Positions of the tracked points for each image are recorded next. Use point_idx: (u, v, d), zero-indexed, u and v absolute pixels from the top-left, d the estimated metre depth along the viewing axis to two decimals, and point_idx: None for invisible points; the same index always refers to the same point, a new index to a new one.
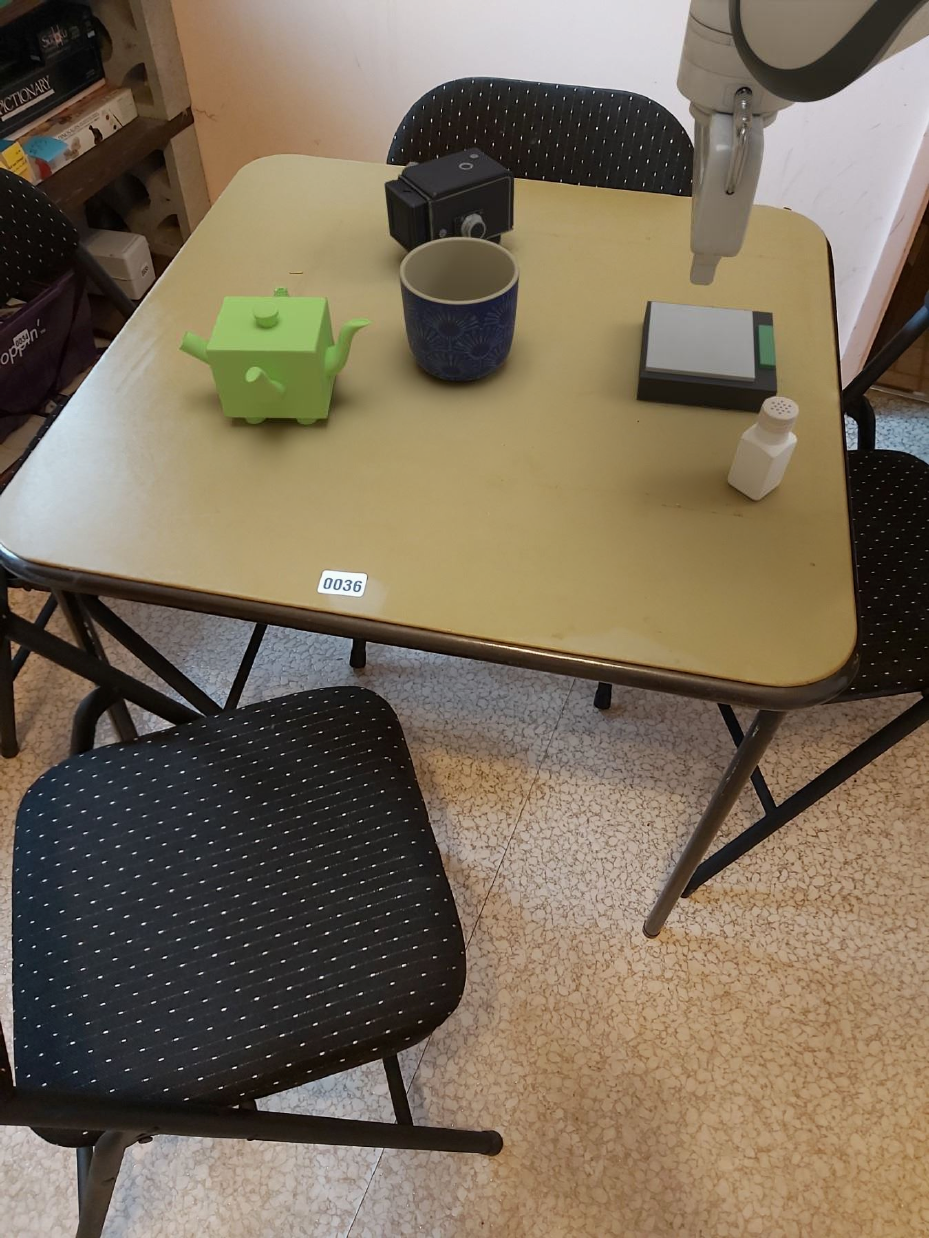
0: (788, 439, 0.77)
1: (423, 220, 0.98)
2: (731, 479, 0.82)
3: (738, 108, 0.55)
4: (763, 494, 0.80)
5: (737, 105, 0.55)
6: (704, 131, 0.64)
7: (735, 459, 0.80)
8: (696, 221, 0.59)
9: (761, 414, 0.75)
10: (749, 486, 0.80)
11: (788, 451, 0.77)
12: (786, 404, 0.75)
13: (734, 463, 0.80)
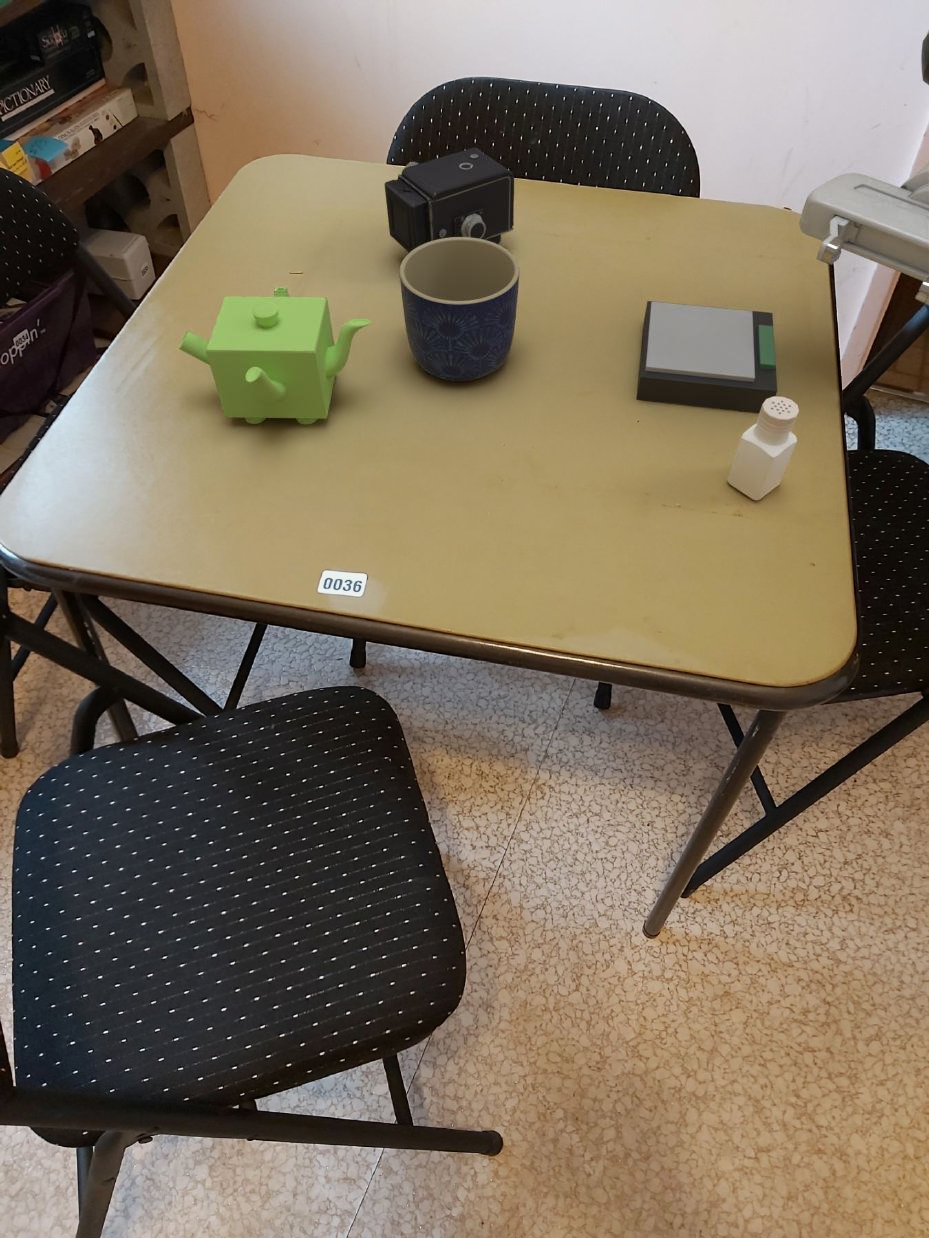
0: (788, 439, 0.77)
1: (423, 220, 0.98)
2: (731, 479, 0.82)
3: None
4: (763, 494, 0.80)
5: None
6: None
7: (735, 459, 0.80)
8: None
9: (761, 414, 0.75)
10: (749, 486, 0.80)
11: (788, 451, 0.77)
12: (786, 405, 0.75)
13: (734, 463, 0.80)
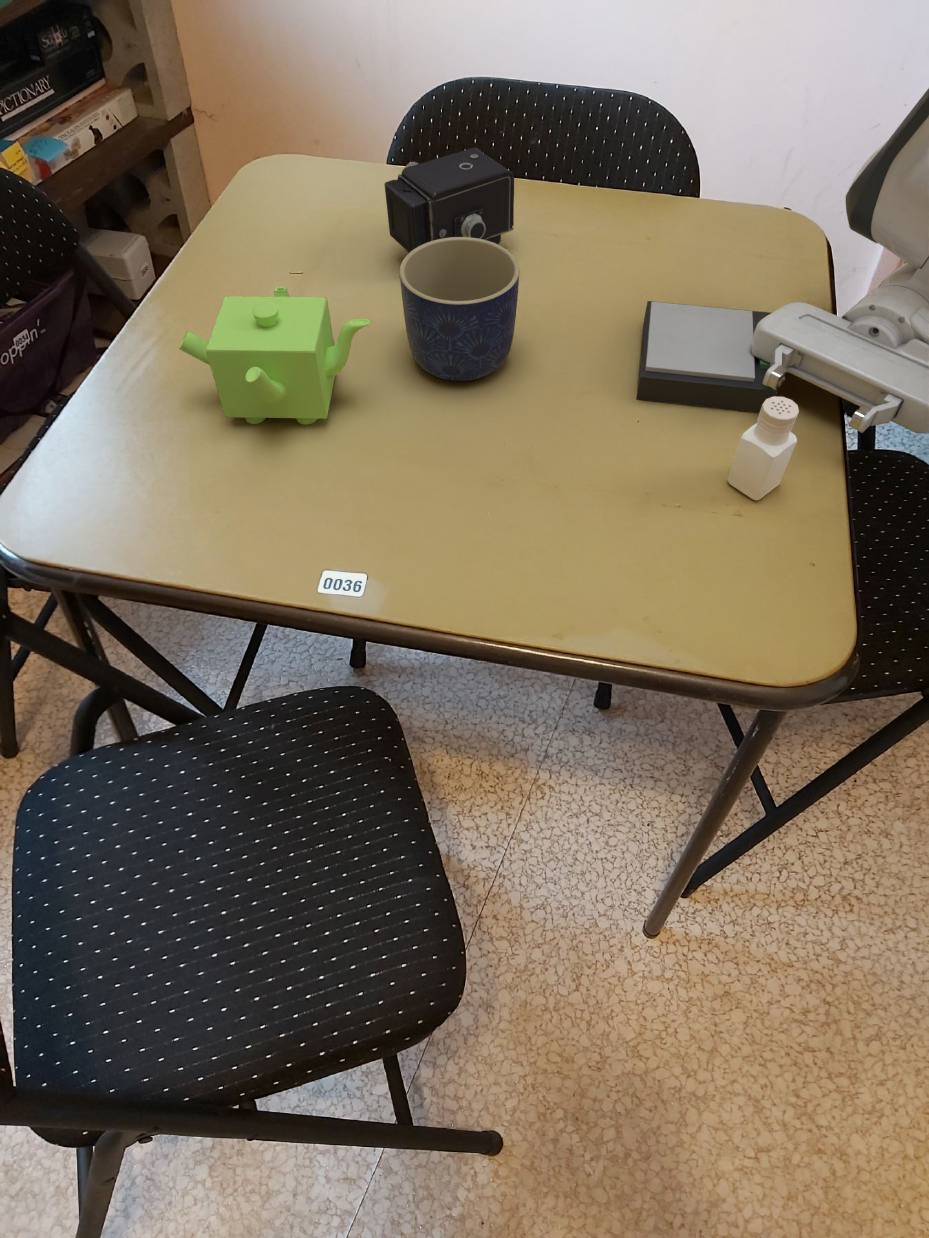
0: (788, 439, 0.77)
1: (423, 220, 0.98)
2: (731, 479, 0.82)
3: None
4: (763, 494, 0.80)
5: None
6: None
7: (735, 459, 0.80)
8: None
9: (761, 414, 0.75)
10: (749, 486, 0.80)
11: (788, 451, 0.77)
12: (786, 405, 0.75)
13: (734, 463, 0.80)
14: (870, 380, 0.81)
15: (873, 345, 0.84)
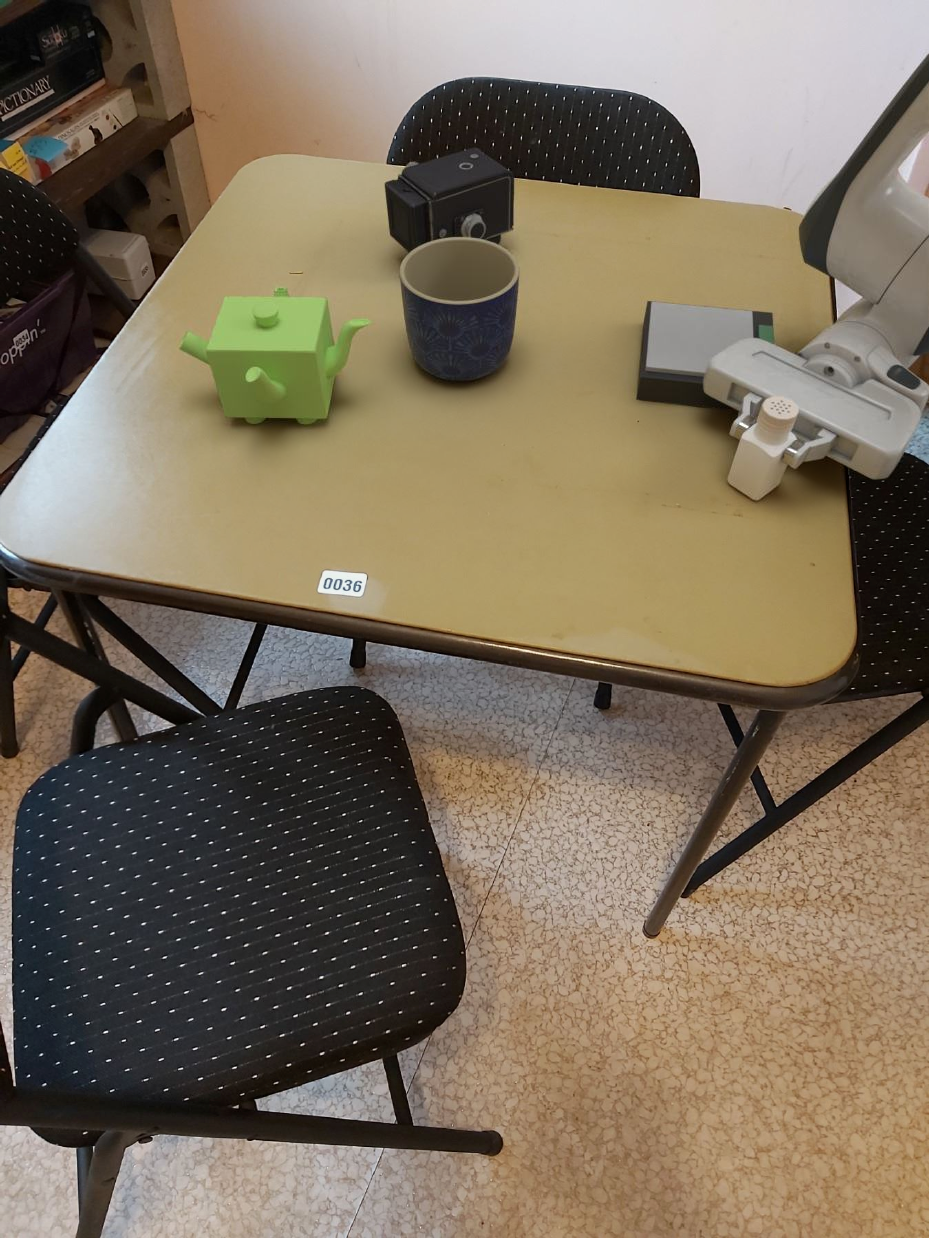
0: (788, 439, 0.77)
1: (423, 220, 0.98)
2: (731, 479, 0.82)
3: None
4: (763, 494, 0.80)
5: None
6: None
7: (735, 459, 0.80)
8: None
9: (761, 414, 0.75)
10: (749, 486, 0.80)
11: None
12: (786, 404, 0.75)
13: (734, 463, 0.80)
14: (823, 423, 0.77)
15: (828, 385, 0.80)
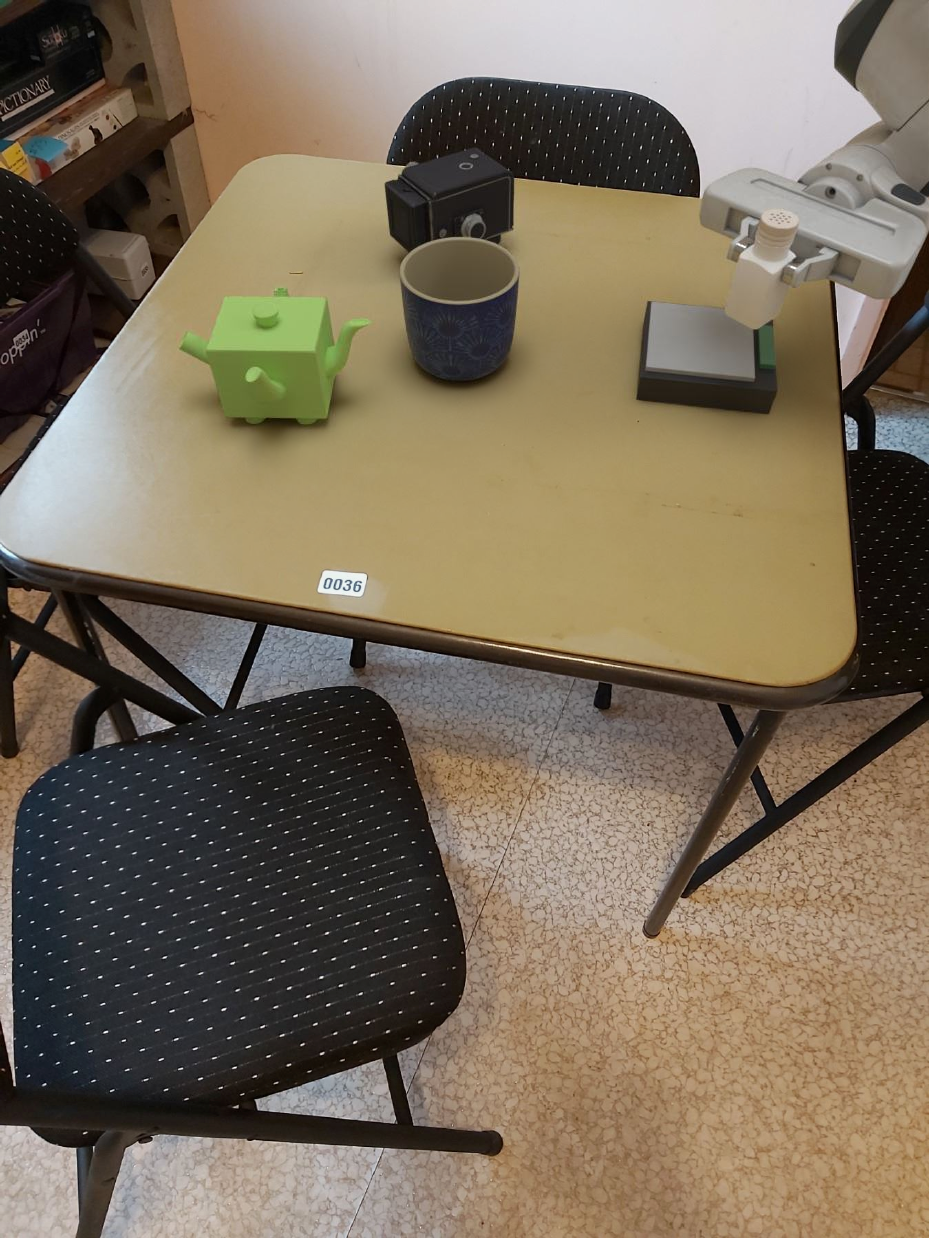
0: (788, 257, 0.74)
1: (423, 220, 0.98)
2: (728, 309, 0.78)
3: None
4: (762, 322, 0.77)
5: None
6: None
7: (732, 284, 0.77)
8: None
9: (759, 227, 0.72)
10: (747, 314, 0.77)
11: None
12: (786, 216, 0.72)
13: (731, 289, 0.77)
14: (825, 241, 0.74)
15: (830, 208, 0.77)
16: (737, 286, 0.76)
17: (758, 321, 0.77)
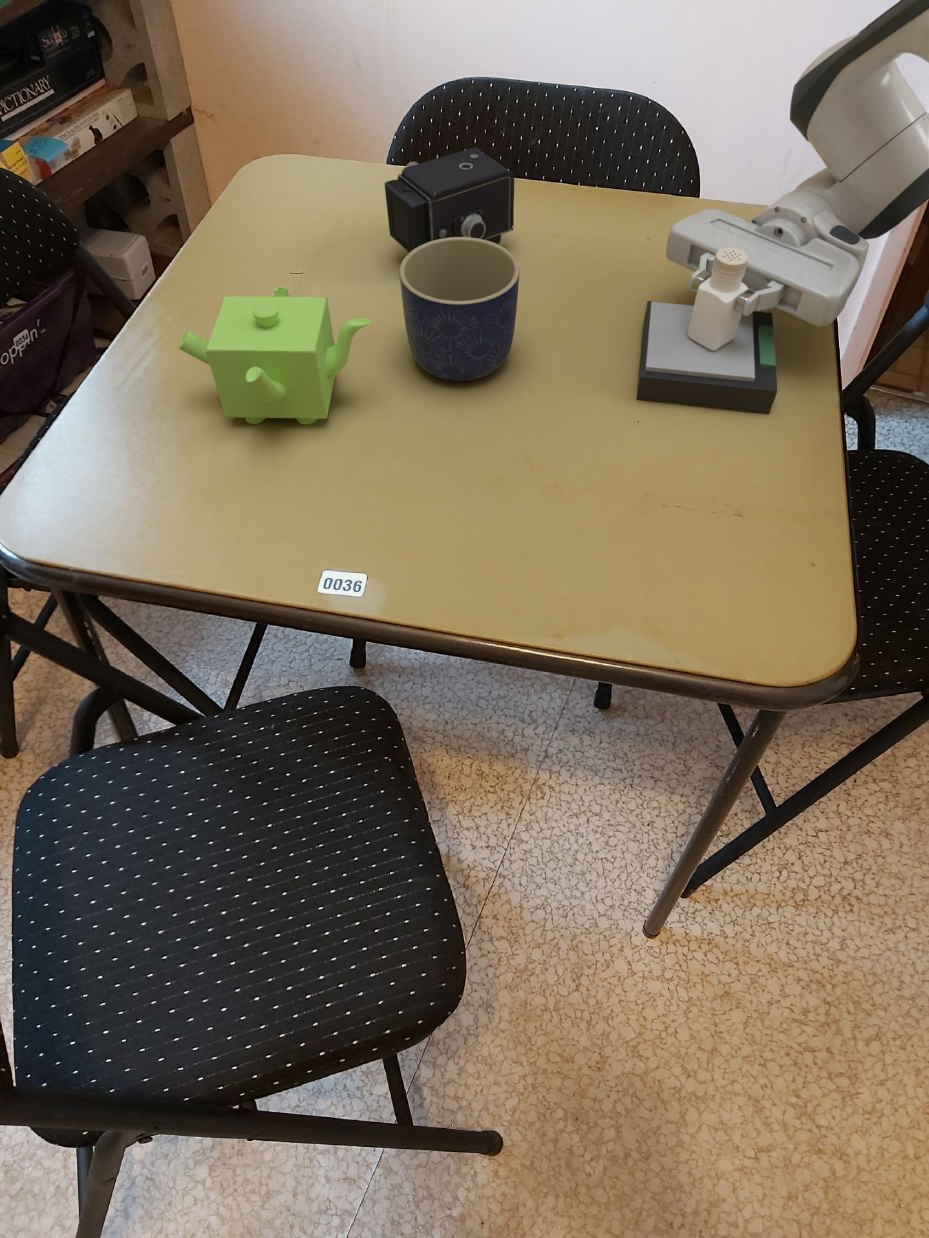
0: (740, 288, 0.85)
1: (423, 220, 0.98)
2: (690, 332, 0.90)
3: None
4: (719, 344, 0.88)
5: None
6: None
7: (693, 311, 0.88)
8: None
9: (714, 263, 0.84)
10: (706, 337, 0.88)
11: None
12: (737, 253, 0.83)
13: (693, 315, 0.88)
14: (772, 275, 0.85)
15: (778, 246, 0.89)
16: (697, 313, 0.88)
17: (716, 343, 0.88)
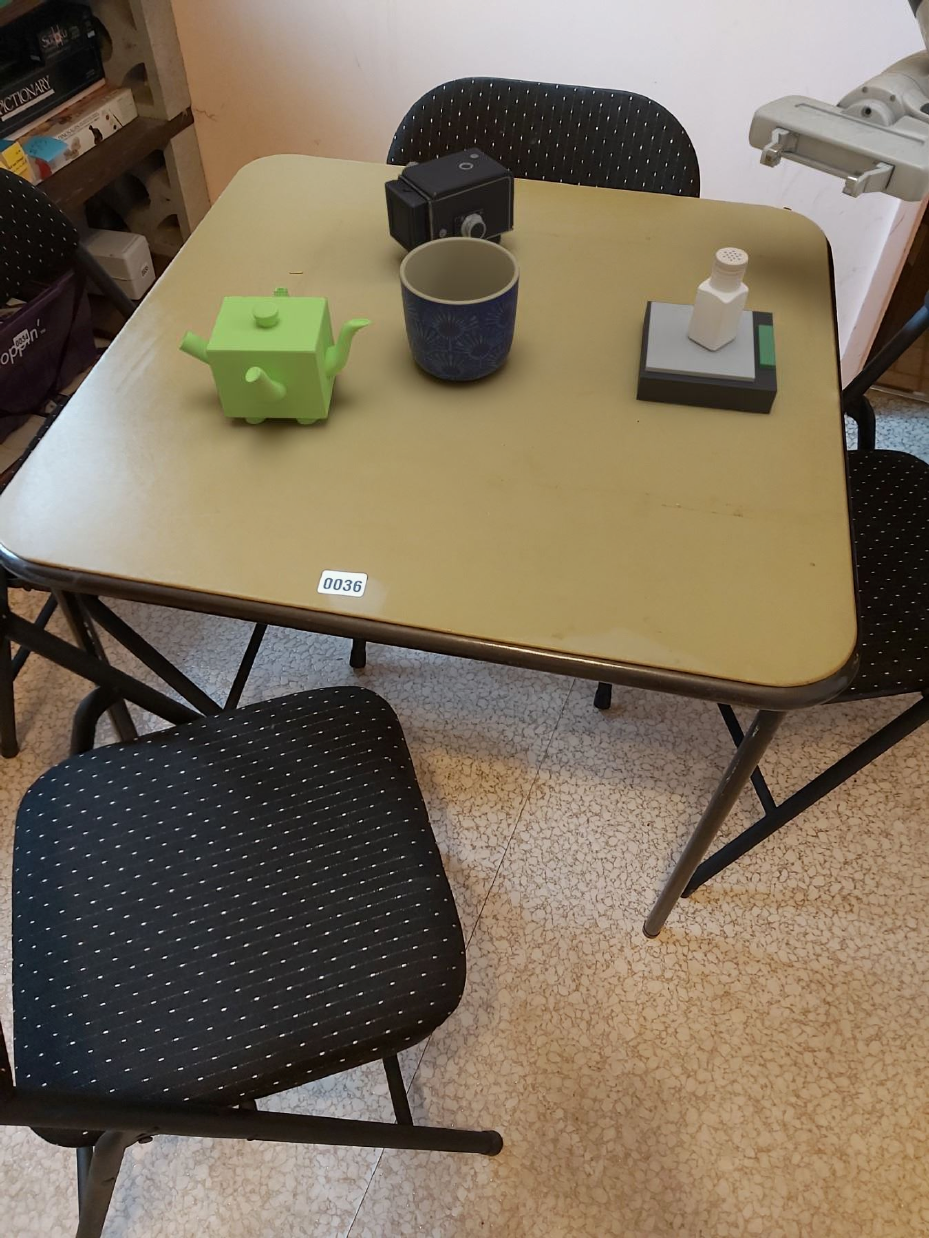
0: (740, 288, 0.85)
1: (423, 220, 0.98)
2: (690, 332, 0.90)
3: None
4: (719, 344, 0.88)
5: None
6: None
7: (693, 311, 0.88)
8: None
9: (715, 263, 0.84)
10: (706, 337, 0.88)
11: (740, 300, 0.86)
12: (737, 253, 0.83)
13: (693, 315, 0.88)
14: (863, 150, 0.85)
15: (866, 126, 0.88)
16: (697, 313, 0.88)
17: (716, 343, 0.88)
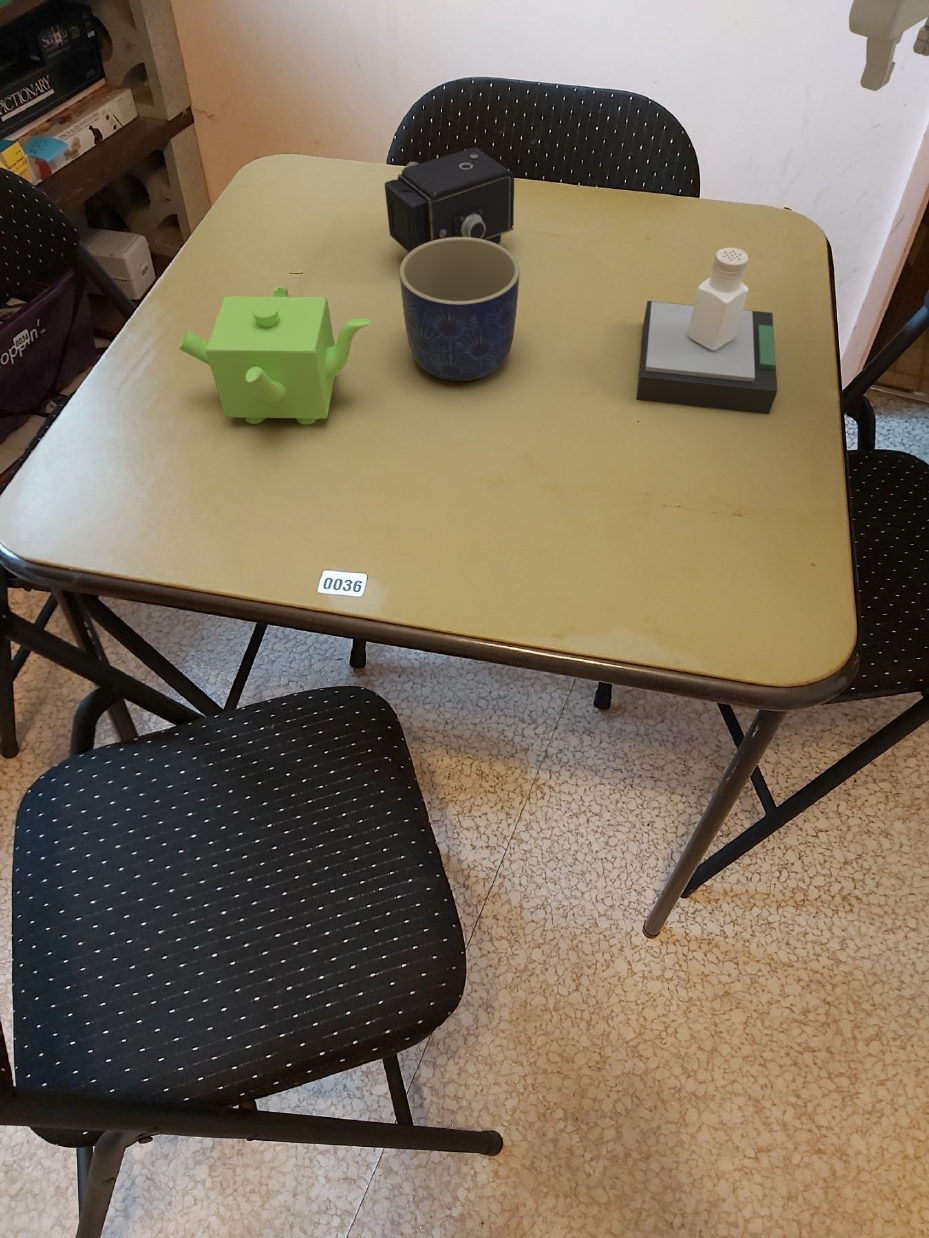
0: (740, 288, 0.85)
1: (423, 220, 0.98)
2: (690, 332, 0.90)
3: None
4: (719, 344, 0.88)
5: None
6: None
7: (693, 311, 0.88)
8: None
9: (715, 263, 0.84)
10: (706, 337, 0.88)
11: (740, 300, 0.86)
12: (737, 253, 0.83)
13: (693, 315, 0.88)
14: None
15: None
16: (697, 313, 0.88)
17: (716, 343, 0.88)
